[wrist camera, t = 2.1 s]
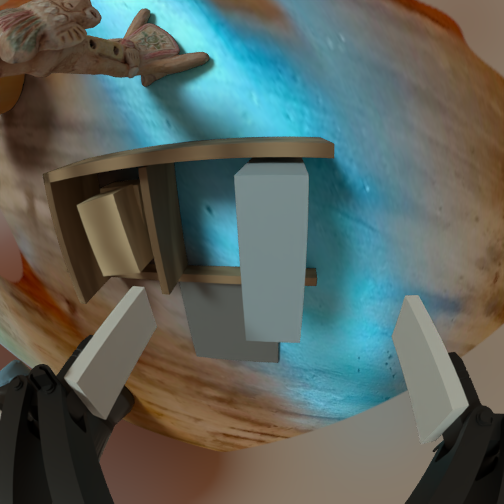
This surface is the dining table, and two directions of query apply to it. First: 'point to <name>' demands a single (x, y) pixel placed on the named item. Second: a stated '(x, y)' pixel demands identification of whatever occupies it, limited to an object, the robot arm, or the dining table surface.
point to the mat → (222, 323)
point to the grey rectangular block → (272, 245)
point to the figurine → (85, 44)
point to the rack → (156, 206)
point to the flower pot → (10, 91)
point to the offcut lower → (137, 193)
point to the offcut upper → (116, 231)
